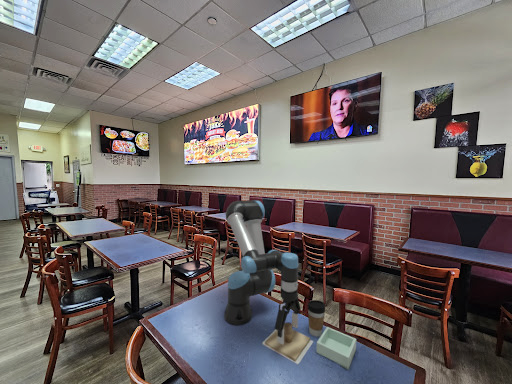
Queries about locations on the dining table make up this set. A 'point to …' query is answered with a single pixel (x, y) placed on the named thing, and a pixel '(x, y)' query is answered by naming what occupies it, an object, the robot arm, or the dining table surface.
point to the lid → (288, 342)
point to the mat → (300, 354)
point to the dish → (337, 347)
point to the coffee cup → (316, 317)
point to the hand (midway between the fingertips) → (288, 334)
